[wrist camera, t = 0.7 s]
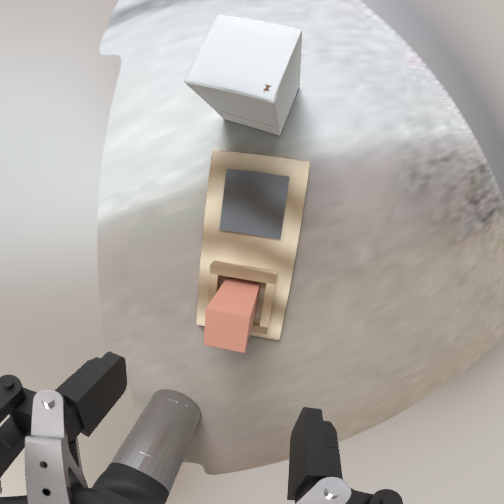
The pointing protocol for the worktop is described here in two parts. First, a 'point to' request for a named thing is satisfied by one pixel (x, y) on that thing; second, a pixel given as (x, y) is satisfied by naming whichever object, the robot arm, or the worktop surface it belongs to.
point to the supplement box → (248, 71)
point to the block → (231, 314)
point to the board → (252, 231)
